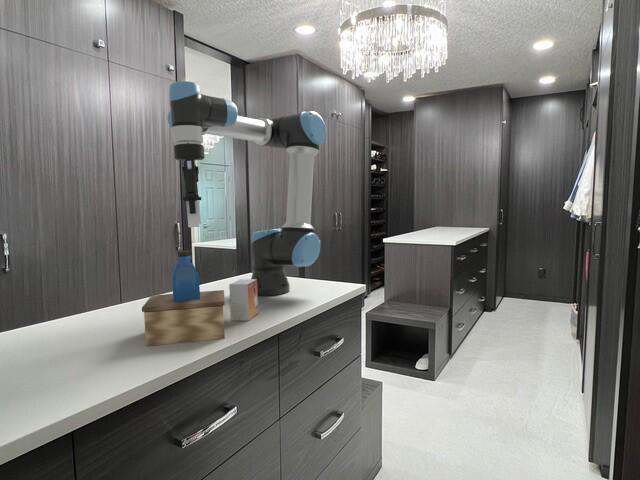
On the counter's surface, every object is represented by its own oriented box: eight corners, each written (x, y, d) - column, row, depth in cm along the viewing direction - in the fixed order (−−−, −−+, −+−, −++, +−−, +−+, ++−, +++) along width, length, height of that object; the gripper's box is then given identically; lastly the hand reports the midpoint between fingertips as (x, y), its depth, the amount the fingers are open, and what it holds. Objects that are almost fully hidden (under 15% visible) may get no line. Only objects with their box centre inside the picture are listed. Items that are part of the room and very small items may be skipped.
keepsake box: (224, 322, 115) (222, 294, 114) (224, 338, 101) (223, 306, 101) (155, 329, 111) (153, 299, 110) (146, 346, 97) (143, 312, 96)
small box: (249, 321, 116) (247, 284, 115) (230, 320, 117) (228, 284, 116) (259, 313, 123) (257, 278, 122) (241, 313, 125) (239, 278, 124)
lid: (224, 293, 114) (223, 287, 114) (224, 305, 101) (224, 297, 100) (151, 299, 110) (151, 292, 110) (142, 311, 96) (141, 304, 96)
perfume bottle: (173, 297, 107) (170, 251, 106) (197, 294, 109) (195, 249, 108) (173, 301, 101) (171, 253, 100) (200, 299, 103) (197, 251, 102)
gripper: (202, 137, 97) (209, 227, 99) (204, 149, 121) (209, 222, 123) (168, 137, 95) (176, 229, 97) (177, 150, 119) (183, 223, 121)
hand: (195, 225), depth 110 cm, fingers open, 13 cm apart
